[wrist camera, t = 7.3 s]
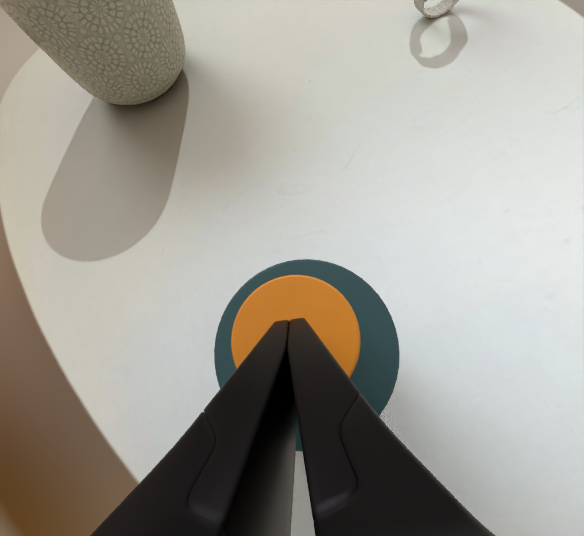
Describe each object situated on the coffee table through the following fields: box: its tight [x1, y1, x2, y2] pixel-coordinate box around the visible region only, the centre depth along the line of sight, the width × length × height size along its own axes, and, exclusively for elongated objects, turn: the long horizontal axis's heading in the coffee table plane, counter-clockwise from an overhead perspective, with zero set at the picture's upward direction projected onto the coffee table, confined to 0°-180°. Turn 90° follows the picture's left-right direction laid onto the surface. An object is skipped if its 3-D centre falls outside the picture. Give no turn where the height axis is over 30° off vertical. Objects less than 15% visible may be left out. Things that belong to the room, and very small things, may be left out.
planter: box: [0, 0, 185, 105], centre depth 26 cm, size 12×12×11 cm
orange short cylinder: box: [231, 275, 360, 378], centre depth 9 cm, size 4×4×2 cm
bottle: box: [214, 259, 399, 451], centre depth 15 cm, size 7×7×10 cm
